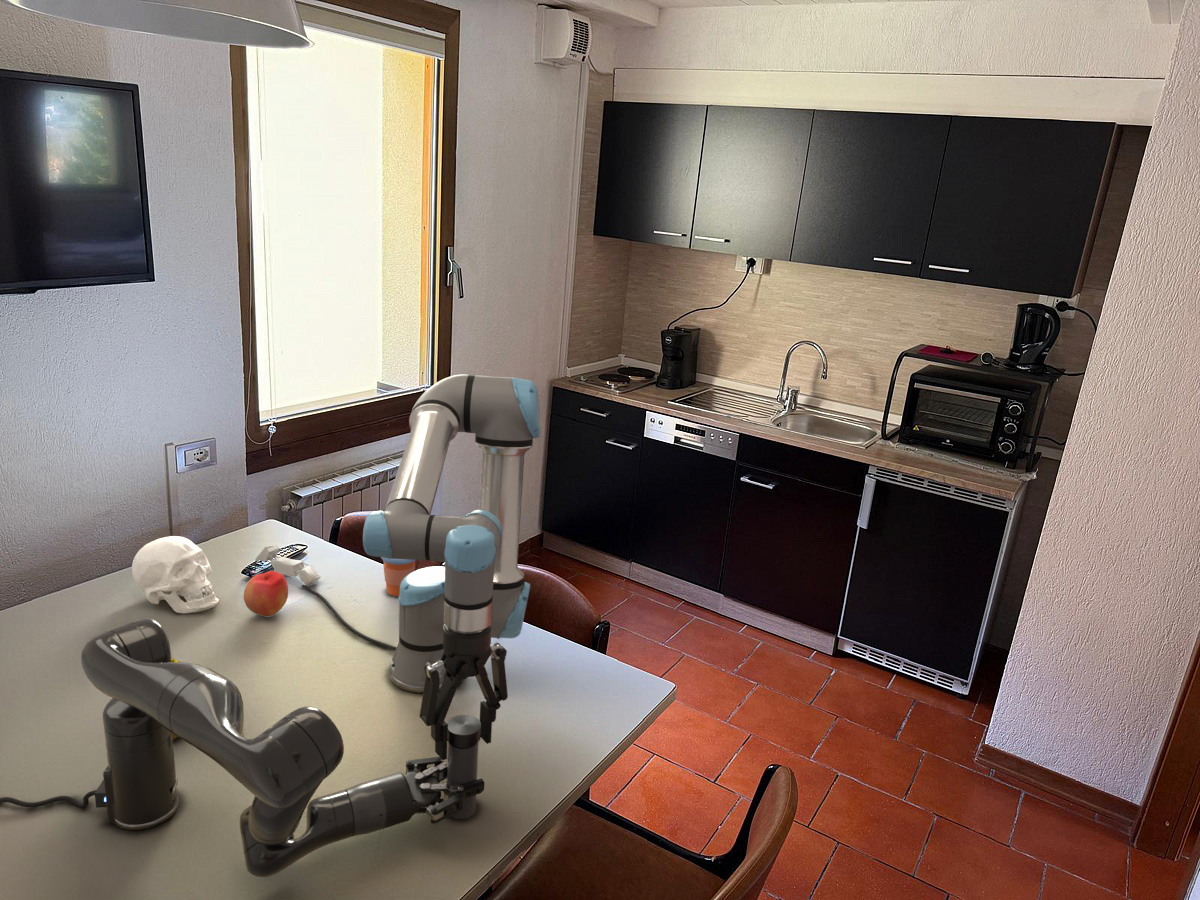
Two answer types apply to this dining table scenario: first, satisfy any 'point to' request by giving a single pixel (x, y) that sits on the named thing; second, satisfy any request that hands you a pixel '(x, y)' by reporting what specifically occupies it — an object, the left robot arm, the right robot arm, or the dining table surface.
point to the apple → (266, 593)
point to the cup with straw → (396, 573)
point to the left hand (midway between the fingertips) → (476, 774)
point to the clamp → (288, 565)
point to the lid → (464, 731)
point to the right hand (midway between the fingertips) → (463, 746)
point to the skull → (174, 574)
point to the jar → (462, 774)
